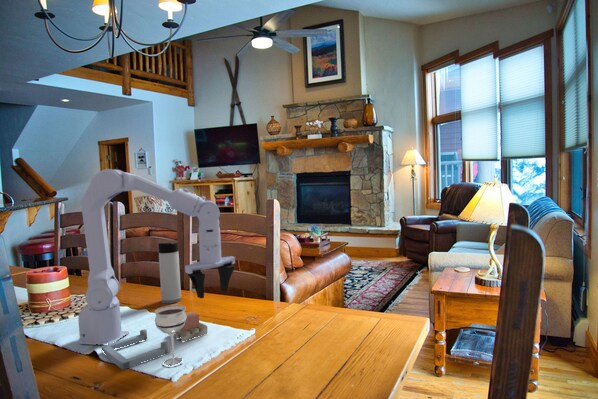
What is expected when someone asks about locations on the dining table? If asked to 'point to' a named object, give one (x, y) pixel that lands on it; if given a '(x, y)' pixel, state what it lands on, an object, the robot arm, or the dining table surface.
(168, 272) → the travel mug
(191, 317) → the salmon pink block
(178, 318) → the wineglass
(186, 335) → the pallet
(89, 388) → the dining table surface
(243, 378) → the dining table surface
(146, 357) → the dock
